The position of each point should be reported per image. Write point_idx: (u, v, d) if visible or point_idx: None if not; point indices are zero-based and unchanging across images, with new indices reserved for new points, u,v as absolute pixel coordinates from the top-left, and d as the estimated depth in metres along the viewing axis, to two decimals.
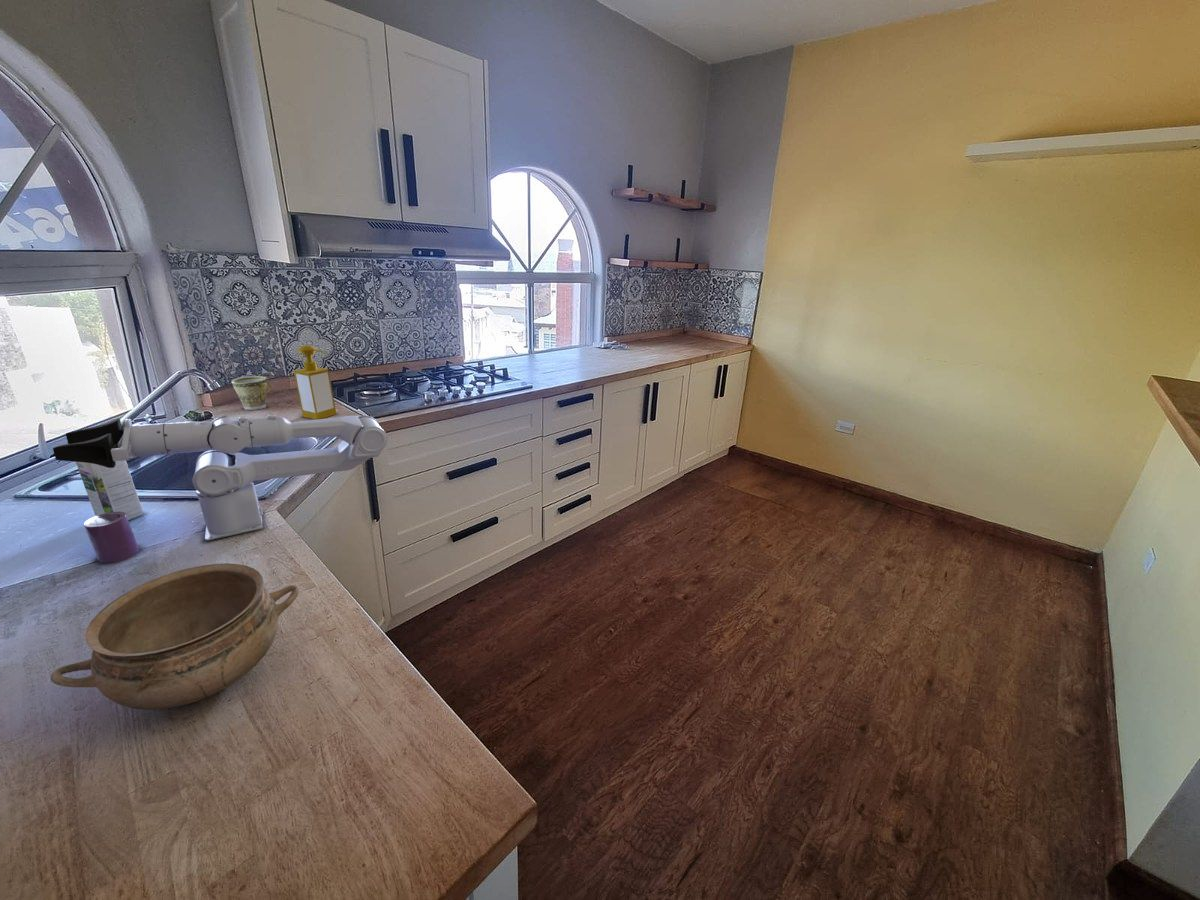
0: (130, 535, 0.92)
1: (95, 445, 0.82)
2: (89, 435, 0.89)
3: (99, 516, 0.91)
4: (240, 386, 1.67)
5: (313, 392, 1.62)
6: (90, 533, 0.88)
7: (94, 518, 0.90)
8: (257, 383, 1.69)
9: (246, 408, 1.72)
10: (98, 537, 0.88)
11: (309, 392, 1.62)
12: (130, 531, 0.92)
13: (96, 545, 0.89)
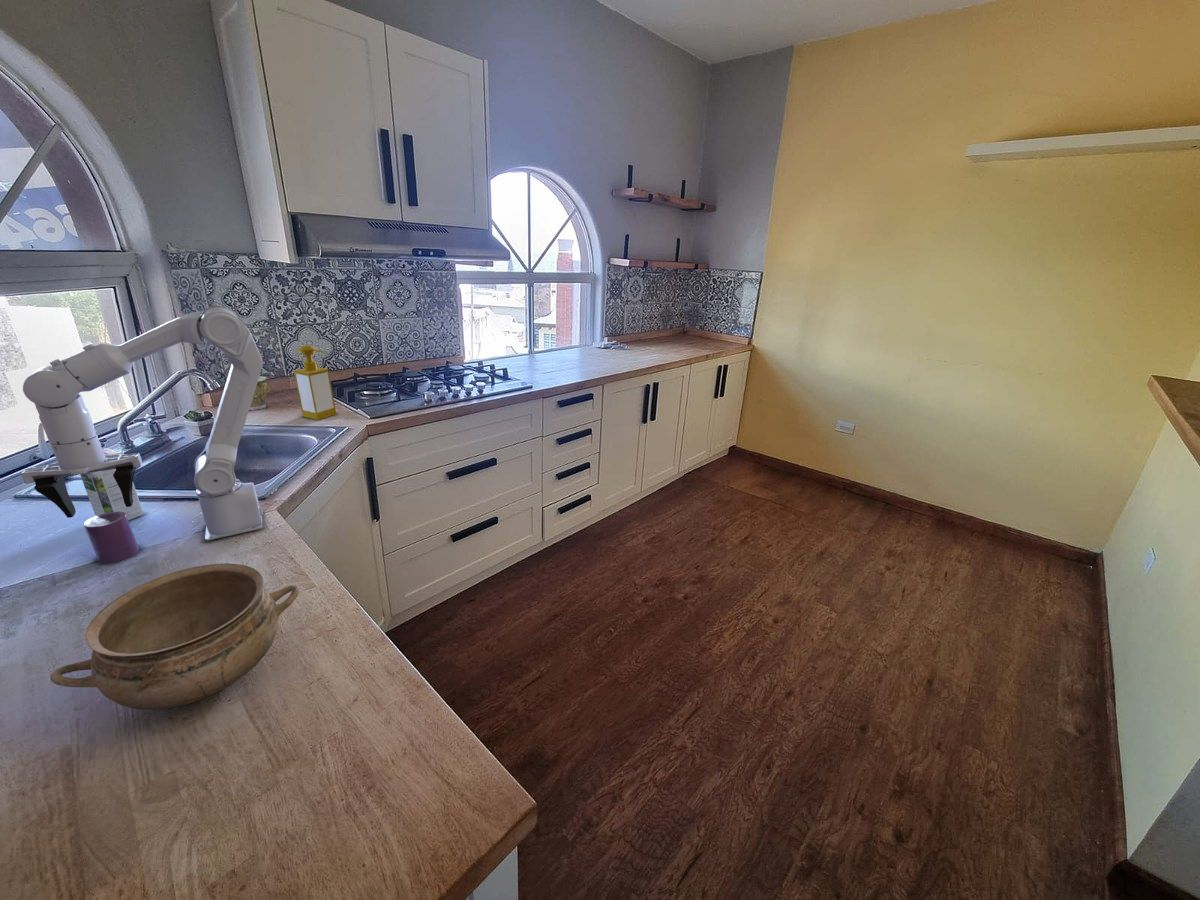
0: (130, 535, 0.92)
1: (131, 479, 0.89)
2: (65, 502, 0.86)
3: (99, 516, 0.91)
4: None
5: (313, 392, 1.62)
6: (90, 533, 0.88)
7: (94, 518, 0.90)
8: (257, 383, 1.69)
9: None
10: (98, 537, 0.88)
11: (309, 392, 1.62)
12: (130, 531, 0.92)
13: (96, 545, 0.89)
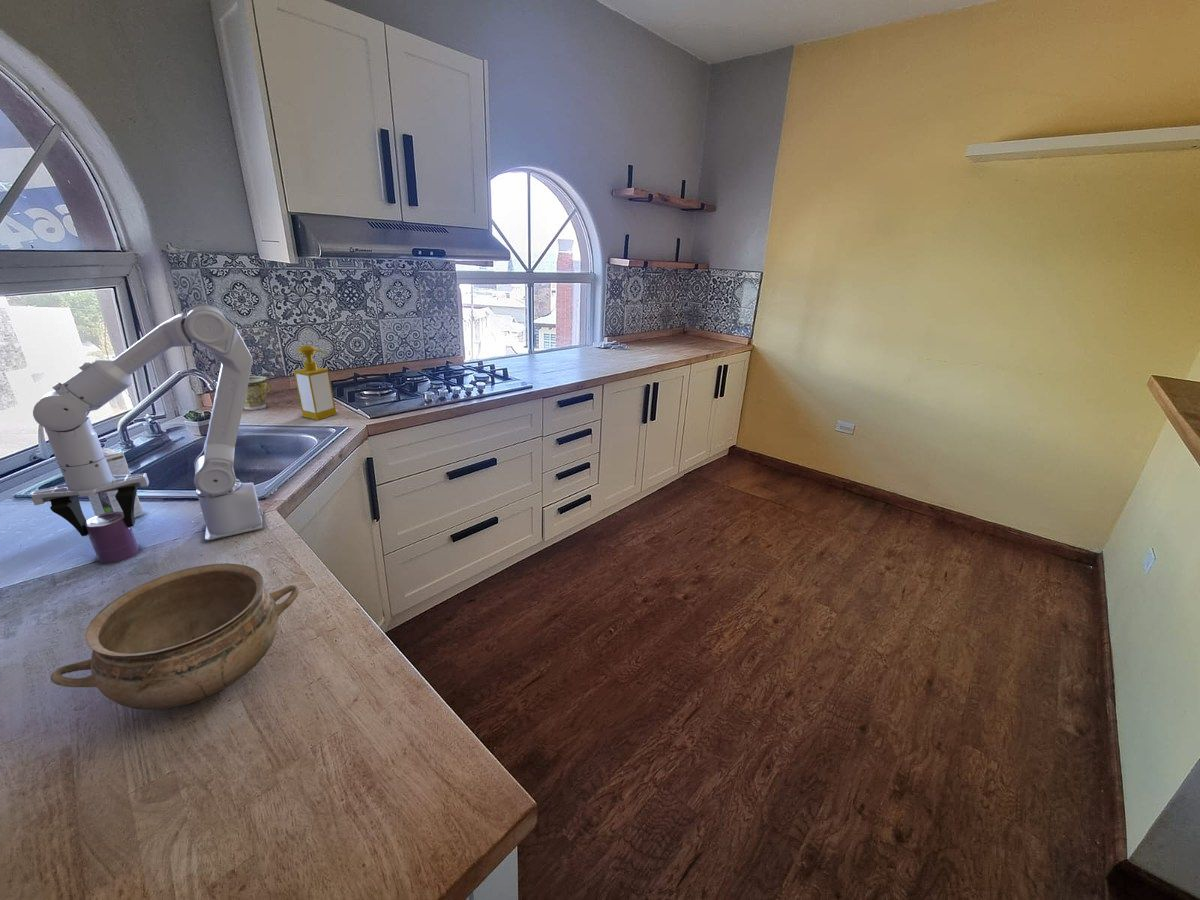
0: (130, 535, 0.92)
1: (133, 500, 0.90)
2: (79, 521, 0.88)
3: (99, 516, 0.91)
4: None
5: (313, 392, 1.62)
6: (90, 533, 0.88)
7: (94, 518, 0.90)
8: (257, 383, 1.69)
9: (246, 408, 1.72)
10: (98, 537, 0.88)
11: (309, 392, 1.62)
12: (130, 531, 0.92)
13: (96, 545, 0.89)
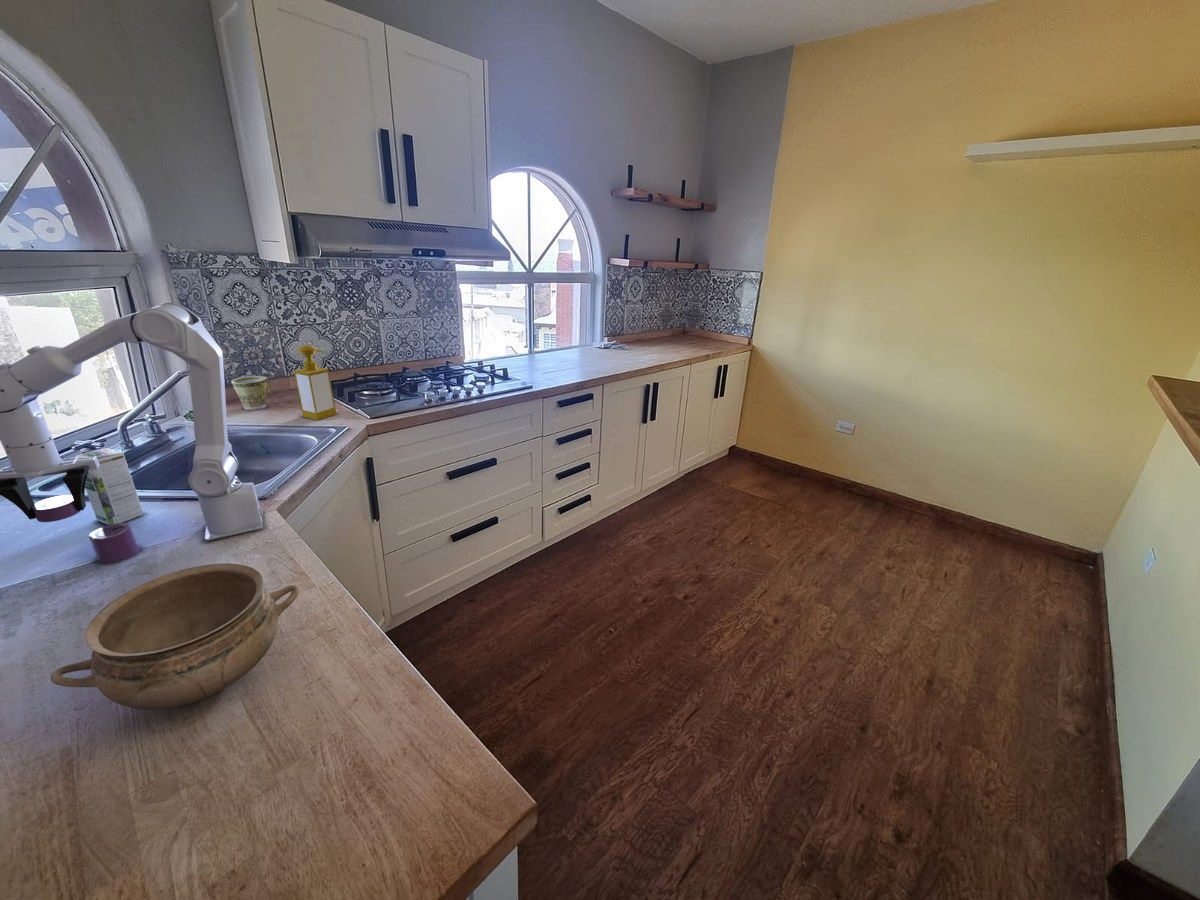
0: (130, 535, 0.92)
1: (82, 483, 0.89)
2: (26, 503, 0.87)
3: (48, 499, 0.90)
4: (240, 386, 1.67)
5: (313, 392, 1.62)
6: (38, 516, 0.87)
7: (43, 501, 0.89)
8: (257, 383, 1.69)
9: (246, 408, 1.72)
10: (46, 520, 0.87)
11: (309, 392, 1.62)
12: (130, 531, 0.92)
13: (96, 545, 0.89)
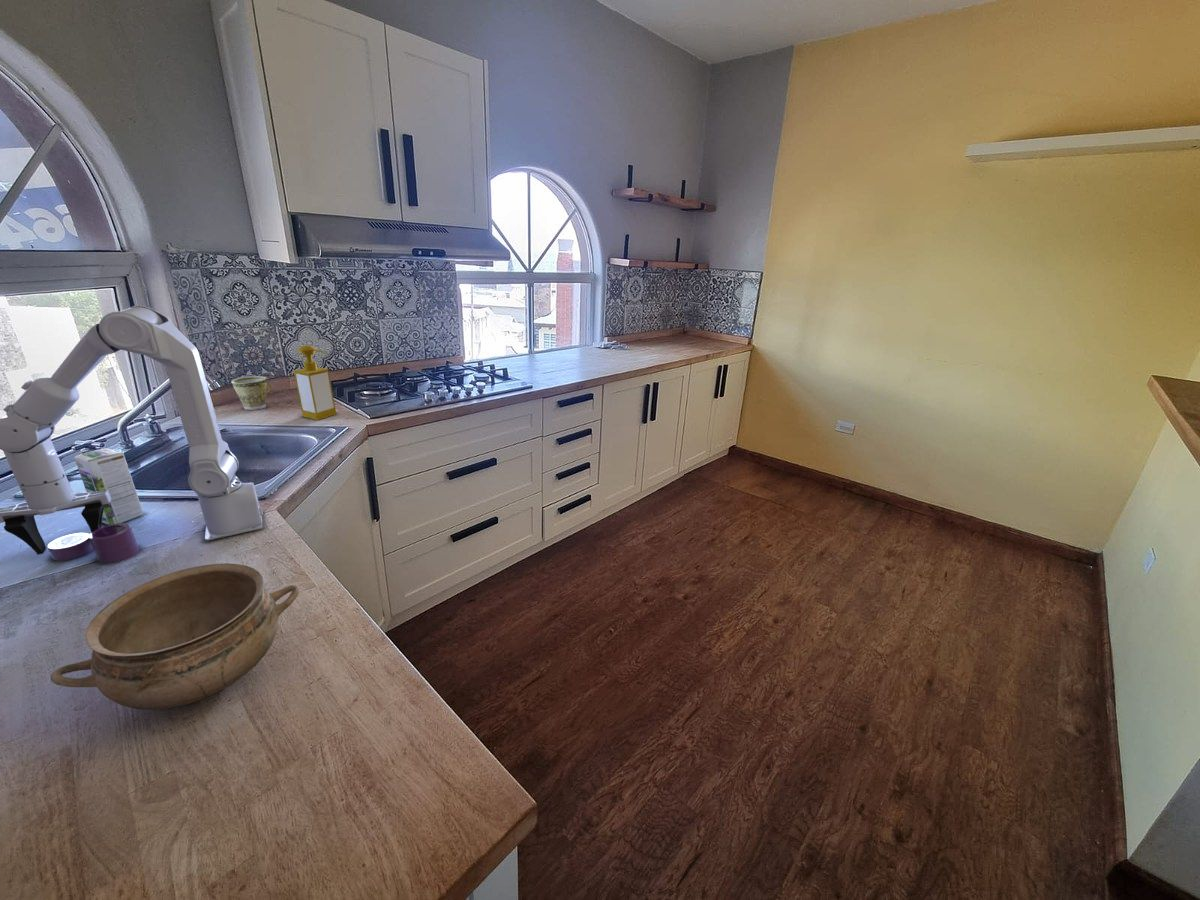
0: (130, 535, 0.92)
1: (99, 516, 0.92)
2: (34, 539, 0.89)
3: (63, 537, 0.93)
4: (240, 386, 1.67)
5: (313, 392, 1.62)
6: (53, 555, 0.90)
7: (58, 540, 0.92)
8: (257, 383, 1.69)
9: (246, 408, 1.72)
10: (61, 559, 0.90)
11: (309, 392, 1.62)
12: (130, 531, 0.92)
13: (96, 545, 0.89)
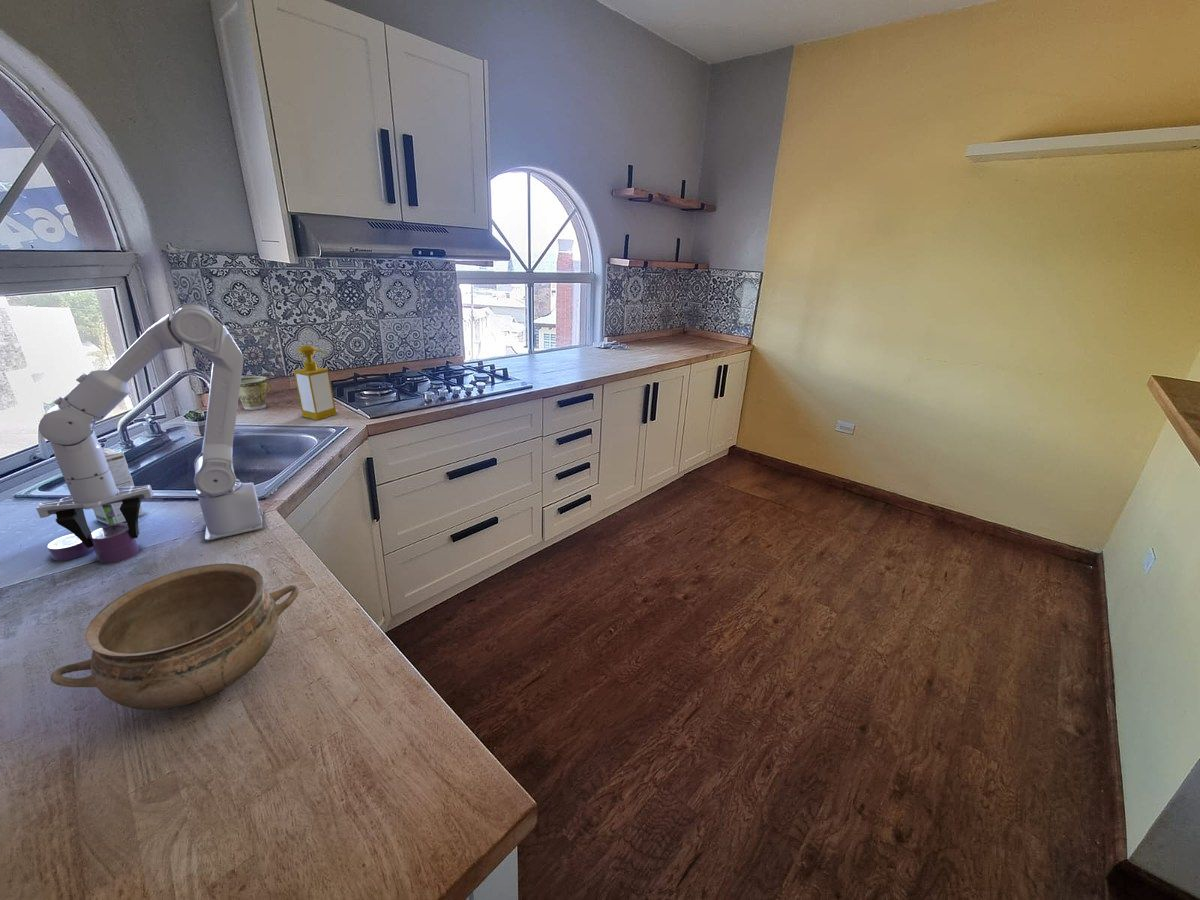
0: (130, 535, 0.92)
1: (137, 511, 0.91)
2: (84, 532, 0.89)
3: (63, 537, 0.93)
4: (240, 386, 1.67)
5: (313, 392, 1.62)
6: (53, 555, 0.90)
7: (58, 540, 0.92)
8: (257, 383, 1.69)
9: (246, 408, 1.72)
10: (61, 559, 0.90)
11: (309, 392, 1.62)
12: None
13: (96, 545, 0.89)
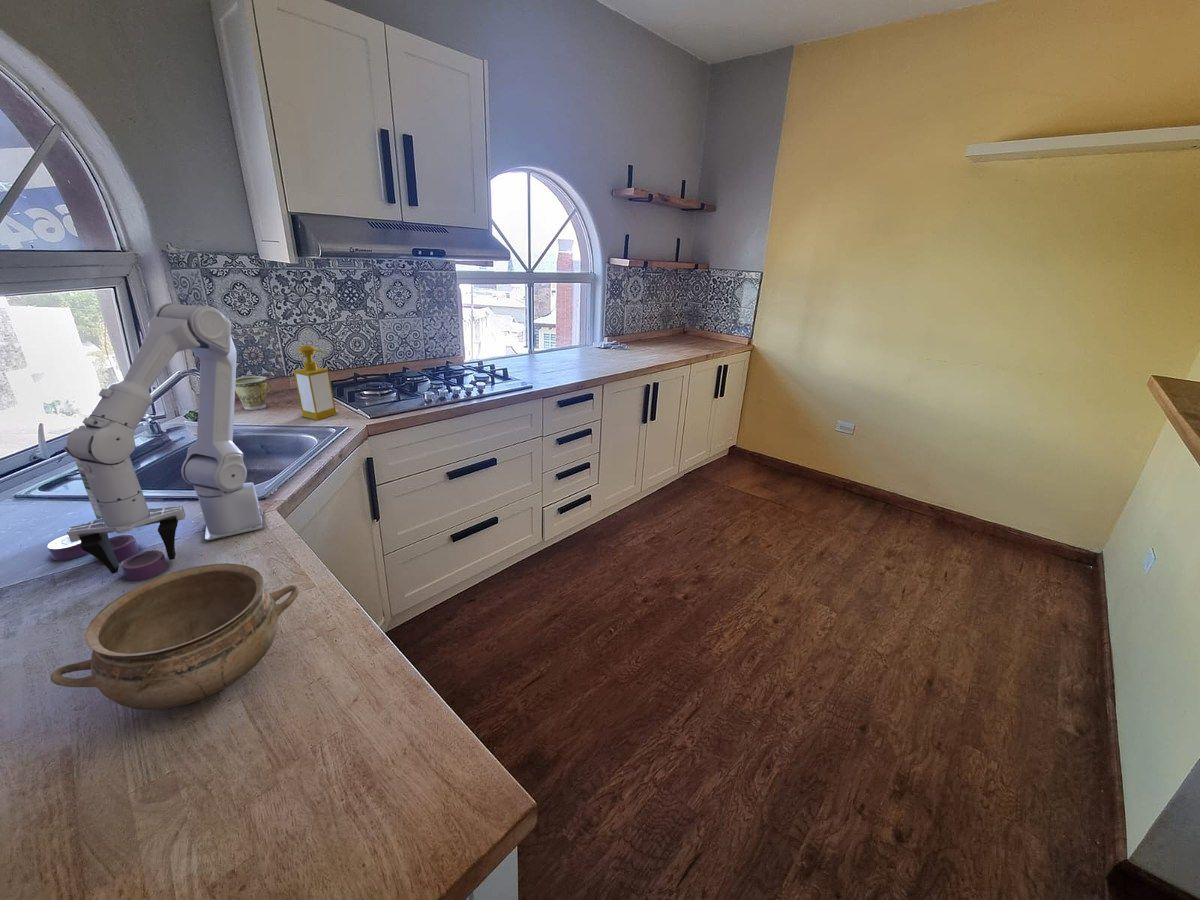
0: (163, 563, 0.89)
1: None
2: (109, 558, 0.84)
3: (63, 537, 0.93)
4: (240, 386, 1.67)
5: (313, 392, 1.62)
6: (53, 555, 0.90)
7: (58, 540, 0.92)
8: (257, 383, 1.69)
9: (246, 408, 1.72)
10: (61, 559, 0.90)
11: (309, 392, 1.62)
12: (163, 559, 0.89)
13: (129, 574, 0.85)
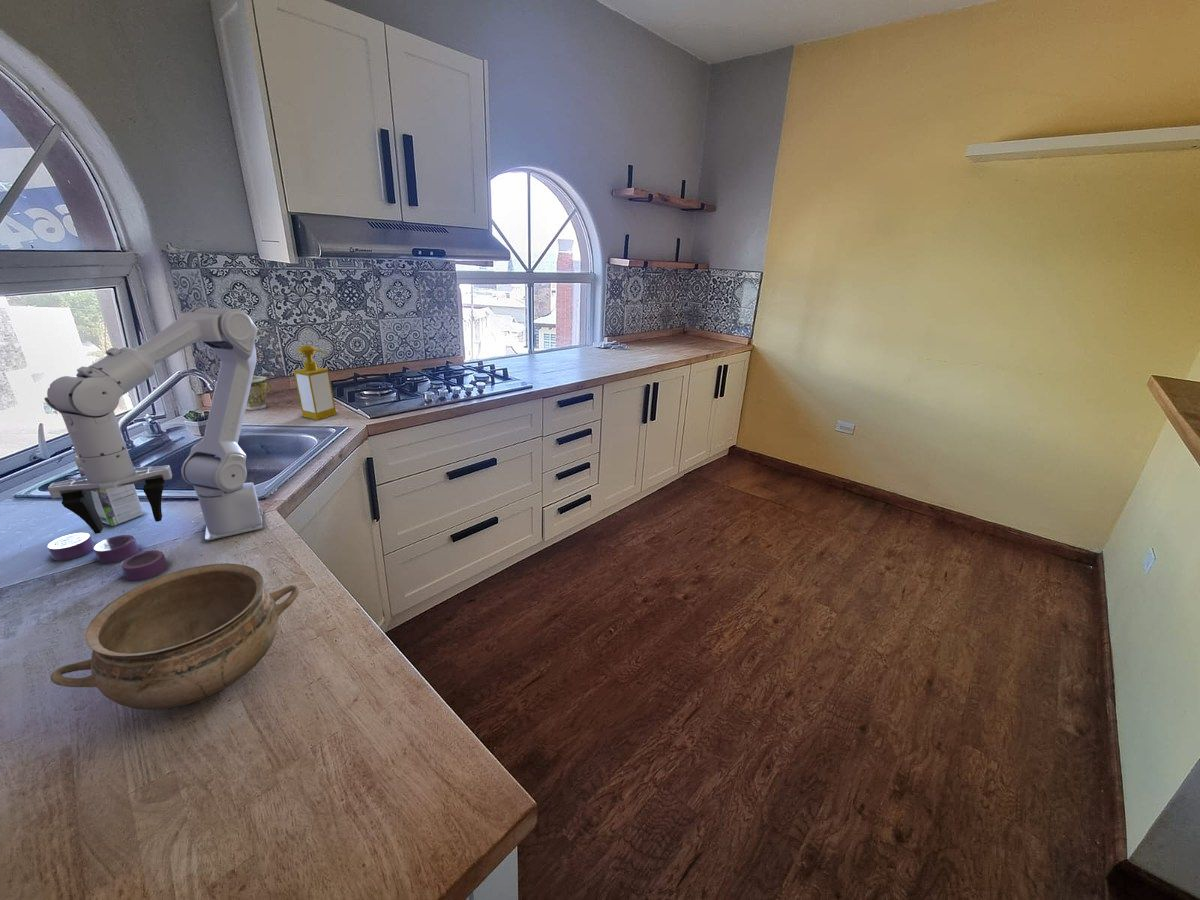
0: (163, 563, 0.89)
1: (161, 492, 0.85)
2: (92, 517, 0.81)
3: (63, 537, 0.93)
4: None
5: (313, 392, 1.62)
6: (53, 555, 0.90)
7: (58, 540, 0.92)
8: (257, 383, 1.69)
9: (246, 408, 1.72)
10: (61, 559, 0.90)
11: (309, 392, 1.62)
12: (163, 559, 0.89)
13: (129, 574, 0.85)
